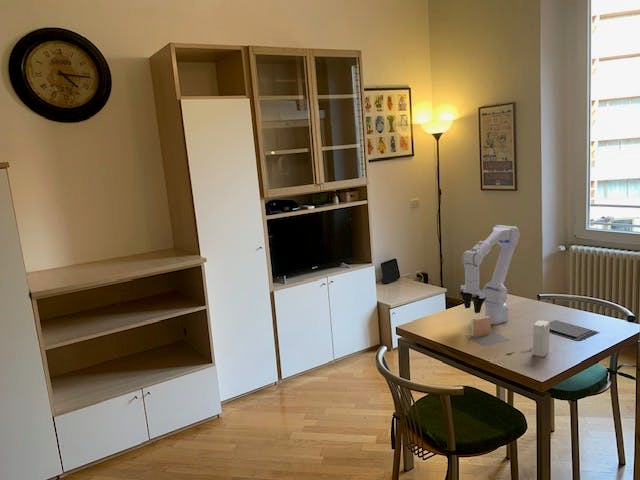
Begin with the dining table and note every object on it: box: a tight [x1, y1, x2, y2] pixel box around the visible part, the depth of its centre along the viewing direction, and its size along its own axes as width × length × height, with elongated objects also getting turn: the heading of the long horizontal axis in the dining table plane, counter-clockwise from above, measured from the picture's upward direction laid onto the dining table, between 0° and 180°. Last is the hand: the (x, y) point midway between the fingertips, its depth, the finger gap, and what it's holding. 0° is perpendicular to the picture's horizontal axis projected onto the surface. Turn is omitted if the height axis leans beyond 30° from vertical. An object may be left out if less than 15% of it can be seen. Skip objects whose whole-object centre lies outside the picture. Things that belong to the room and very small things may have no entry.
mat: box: [465, 329, 511, 347], centre depth 204 cm, size 13×12×1 cm
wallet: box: [549, 319, 600, 342], centre depth 209 cm, size 20×2×15 cm
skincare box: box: [532, 320, 551, 358], centre depth 188 cm, size 6×4×12 cm
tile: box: [470, 316, 492, 337], centre depth 207 cm, size 8×2×7 cm, turn 107°
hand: (472, 310), depth 212 cm, fingers open, 6 cm apart
